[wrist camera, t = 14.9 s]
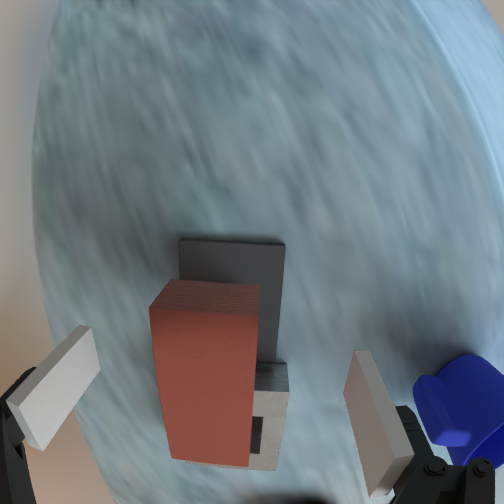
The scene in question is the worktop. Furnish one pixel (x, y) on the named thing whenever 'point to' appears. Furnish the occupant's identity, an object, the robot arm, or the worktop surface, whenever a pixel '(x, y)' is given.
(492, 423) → the mug
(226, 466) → the block
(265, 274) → the mat
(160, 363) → the key
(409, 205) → the worktop surface
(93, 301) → the worktop surface
